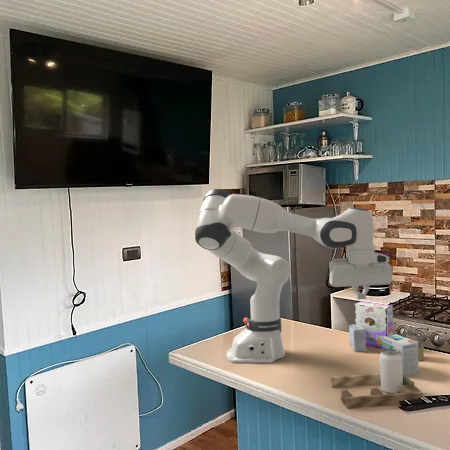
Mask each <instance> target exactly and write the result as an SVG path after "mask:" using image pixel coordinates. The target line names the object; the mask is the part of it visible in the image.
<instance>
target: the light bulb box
mask: <svg viewBox="0 0 450 450" xmlns="http://www.w3.org/2000/svg"><path fill="white" fill-rule="evenodd" d="M383 349H396V350H399V351H400V354H401V356H402V371H403V374H404V375H405V376H407V377H409V376H413V375H418V374H419V361H418V342H416V341H413V340H410V339H408V338H406V336H402V335H400V334H393V335H390V336H385V337H382V349H381V350H383Z"/></svg>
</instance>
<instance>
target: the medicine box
mask: <svg viewBox="0 0 450 450" xmlns="http://www.w3.org/2000/svg"><path fill="white" fill-rule="evenodd" d="M348 337H349V339H348V340H349V347H351V348H352V350H353V351H354V352H355V353H359V352H360V353H361V352H362V353H363V352H366V351H367V345H366V341H365V329H364V328H363V327H362V326H361V325H360V324H349V325H348Z"/></svg>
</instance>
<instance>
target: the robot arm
mask: <svg viewBox="0 0 450 450" xmlns="http://www.w3.org/2000/svg"><path fill="white" fill-rule="evenodd" d="M196 224H197V225H196V228H195V231H194V232H195V234H194V237H195V238H194V239H195V242H196V244H197V245H198V246H200V247H201V248H202V249H205V250H208V251H209V252H210V253H211V254H213V255H214V256H215V257H217V258H219V259H220V260H222V261H224V262H225V263H227V264H229V265H231V266H232V267H233V268H234V269H236V271H238V272H239V274H241V276H242V277H245V278H246V279H248V280H250V281H253V282H256V288H255V292H254V294H252V295H251V297H250V299H249V300H250V301H249V303H250V304H249V305H250V318H248V317H244V319H243V320H242V321H243V323H244V324H245V328H244V329H243V330H242V331H240V333H238V334H237V335H236V336H234V338H233V340H232V344H231V348H228V349H227V351H226V358H227V360H228V361H229V362H231V363H236V364H237V363H239V364H240V363H243V364H247V363H249V364H251V363H252V364H253V363H259V364H261V363H266V364H267V363H275V361H277V360H279V359H282V358H283V357H285V355H286V352H285V348H284V344H283V342H282V339H283V338H282V319H281V317H280V316H281V315H280V297H281V293H282V289H283V287H284V285H285V284H286V283H287V282H288V280H289V279H290V277H291V274H292V270H291V269H292V268H291V264H290V263H289V262H288V260H286V259H284V258H282V257H281V256H279V255H275V254H274V255H273V254H268V253H263V252H260V251H258V250H257V249H255V248H254V247H253V246H252V243H251V241H249V240H248V239H247V238H245V237H243V236H242V235H241V234H239V233H238V232H236V231H235V230H233V228H241V229H244V230H249V231H252V232H255V233H263V234H264V233H265V234H273V233H277V232H289V233H295V234H299V235H303V236H306V237H309V238H311V239H312V240H313V242H316V243H317V244H319V245H321V246H324V247H326V248H329V249H334V250H335V249H340V248H344V247H345V255H346V257H341V258H339V257H338V258H337V257H333V259H331V260H330V261H329V263H328V269H329V280H328V281H329V282H328V283H329V284H330V285H331V286H332V287H334V288H344V287H345V288H346V287H351V288H352V290H353V292H354V293H355V299H356V300H366V299H367V294H368V292H369V290H370V286H381V285H383V286H384V285H386V286H387V285H391V284H392V282H393V271H392V266H391V264H390V263H389V262H390V256H388V255H387V254H383V253H380V252H377V251H375V245H374V243H373V242H374V236H375V230H374V218H373V214H372V212H371V211H370V210H368V209H366V208H359V207H348V208H347V209H346V210H345V211H344V212H342V213H340V214H338V215H337V216H334V217H331V216H320V217H316V218H313V217H309V216H305V215H304V216H303V215H300V214H296V213H292V212H290V211H288V210H287V209H285V208H284V207H282V205H280V204H278V203H277V202H274V201H272V200H269V199H266V198H264V197H263V198H262V197H259V196H254V195H249V194H240V193H239V194H238V193H232V194H230V193H229V191H227V190H225V189H221V188H214V189H210V190H208V192H206V194H205V195H204V198H203V200H202V204H201V206H200V209H199V212H198V218H197V223H196ZM361 286H362V288H363V290H362V292H359V287H361Z"/></svg>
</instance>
